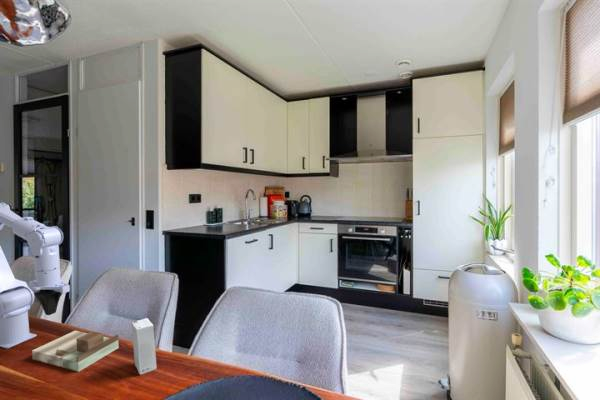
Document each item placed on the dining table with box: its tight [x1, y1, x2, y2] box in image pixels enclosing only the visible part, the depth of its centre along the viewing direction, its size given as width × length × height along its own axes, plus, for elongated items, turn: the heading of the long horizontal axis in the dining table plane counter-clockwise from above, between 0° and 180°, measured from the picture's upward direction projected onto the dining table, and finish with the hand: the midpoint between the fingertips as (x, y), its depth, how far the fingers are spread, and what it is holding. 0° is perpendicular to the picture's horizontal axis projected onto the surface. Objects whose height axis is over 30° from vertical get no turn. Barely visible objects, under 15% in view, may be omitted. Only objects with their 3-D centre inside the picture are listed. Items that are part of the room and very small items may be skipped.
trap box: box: [31, 330, 120, 372], centre depth 90 cm, size 18×12×4 cm, turn 71°
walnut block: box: [76, 330, 104, 352], centre depth 88 cm, size 4×4×4 cm
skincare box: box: [131, 317, 157, 375], centre depth 83 cm, size 6×4×12 cm
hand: (50, 313), depth 93 cm, fingers closed
